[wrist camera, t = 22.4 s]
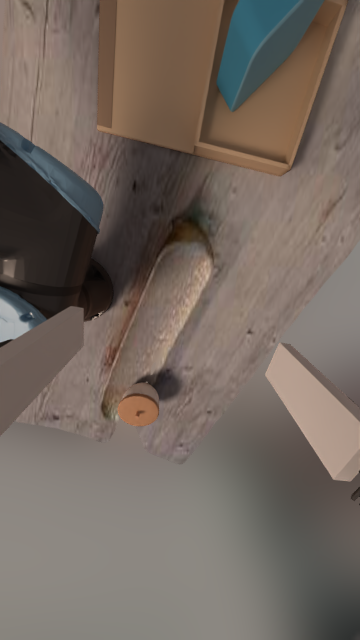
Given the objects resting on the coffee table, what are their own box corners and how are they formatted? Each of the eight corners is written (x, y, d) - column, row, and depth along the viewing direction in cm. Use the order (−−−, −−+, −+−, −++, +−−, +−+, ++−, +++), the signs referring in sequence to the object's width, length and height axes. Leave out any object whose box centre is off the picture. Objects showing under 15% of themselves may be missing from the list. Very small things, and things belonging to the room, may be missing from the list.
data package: (279, 18, 28) (346, -129, 17) (293, 52, 29) (363, -63, 18) (213, 88, 31) (233, 2, 20) (229, 117, 32) (255, 51, 21)
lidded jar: (150, 370, 53) (144, 395, 45) (167, 396, 57) (165, 424, 48) (118, 383, 55) (107, 410, 46) (137, 408, 59) (129, 436, 50)
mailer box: (98, 131, 33) (89, 118, 30) (102, -46, 26) (91, -88, 23) (280, 176, 36) (290, 169, 33) (328, 27, 29) (348, -1, 26)
